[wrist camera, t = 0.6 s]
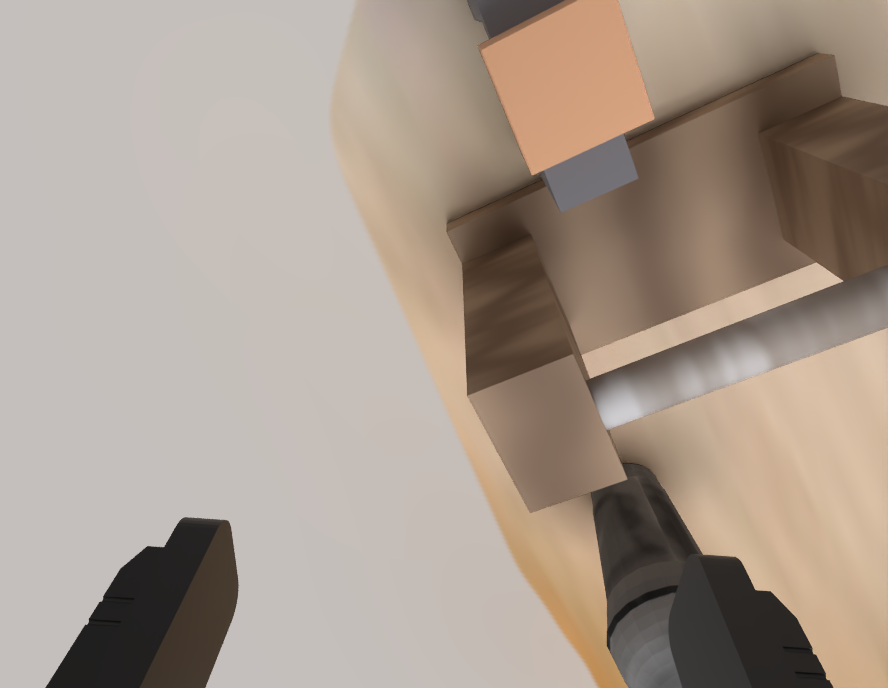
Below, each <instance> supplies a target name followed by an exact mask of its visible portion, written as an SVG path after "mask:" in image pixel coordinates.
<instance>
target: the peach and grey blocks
mask: <svg viewBox="0 0 888 688" xmlns="http://www.w3.org/2000/svg"><path fill="white" fill-rule="evenodd" d="M467 2H468V4H469V7H470V9H471V12H472V14H473V17H474V19H475V20H477V21H480V22H483V25H484V27H485V30H486V32H487V35H488V37H489V40H487V41H485V42H483V43H481V44H480V45H478V48H479V51H480V53H481V56H482V58H483V61H484V63H485V65H486V68H487V70H488V73H489V75H490V78H491V80H492V83H493V85H494V87H495V90H496V92H497V95H498V97H499V100H500V102H501V105H502V107H503V109H504V112H505V114H506V117H507V119H508V122H509V124H510V126H511V129H512V131H513V134H514V136H515V139H516V141H517V144H518V146H519V148H520V151H521V153H522V156H523V158H524V160H525V162H526V164H527V166H528V168H529V170H530V172H531V174H532V176H533V175H535V174H537V173H540V175H541V177H542V179H543V181H544V183H545V185H546V186H547V188H548V190H549V192H550V194H551V196H552V198H553V199H554V201H555V203H556V205H557V207H558V209H559V211H560V212H561V213H562V212H564V211H566V210H569V209H571V208H573V207H575V206H578V205H580V204H582V203H584V202H587V201H589V200H591V199H593V198H596V197H598V196H600V195H602V194H605V193H607V192H609V191H611V190H614V189H616V188H618V187H620V186H623V185H625V184H627V183H629V182H632V181H634V180H636V179H638V175H637V172H636V169H635V166H634V163H633V160H632V157H631V154H630V151H629V148H628V145H627V142H626V139H625V136H624V133H626V132H628V131H630V130H632V129H634V128H636V127H639V126H641V125H643V124H645V123H647V122H649V121H652V120H654V119H655V118H654V115H653V112H652V108H651V105H650V102H649V99H648V96H647V92H646V89H645V86H644V83H643V79H642V76H641V73H640V70H639V67H638V63H637V60H636V57H635V54H634V51H633V47H632V44H631V41H630V38H629V34H628V31H627V28H626V25H625V22H624V18H623V15H622V12H621V9H620V5H619V2H618V0H467Z"/></svg>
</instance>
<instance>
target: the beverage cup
mask: <svg viewBox="0 0 888 688" xmlns="http://www.w3.org/2000/svg"><path fill="white" fill-rule="evenodd" d="M622 466H623V468H624V471H625V474H626V476H627V480H625V481H622V482H619V483H616V484H613V485H610V486H607V487H604V488H601V489H599V490H596V491H593V492H592V500H593V515H594V521H595V528H596V534H597V540H598V547H599V553H600V559H601V566H602V572H603V578H604V585H605V591H606V598H607V647H608V649H609V651H610V653H611V655H612V657H613V659H614V661H615V663H616V665H617V667H618V669H619V671H620V673H621V675H622V677H623V679H624V681H625V683H626V684H627V686H628V687H629V688H682V685H681V682H680V679H679V675H678V672H677V669H676V665H675V662H674V659H673V656H672V652H671V648H670V643H669V632H668V623H669V615H670V611H671V608H672V604H673V601H674V598H675V595H676V592H677V588H678V585H679V582H680V579H681V575H682V572H683V569H684V566H685V563H686V560H687V558H688V556H689V555H691V554H700V555H703V554H702V552H701V551H700V549H699V547H698V546H697V544H696V542H695V540H694V539H693V537H692V535H691V534H690V532H689V530H688V529H687V527H686V525H685V524H684V522H683V520H682V519H681V517H680V515H679V513H678V512H677V510H676V508H675V507H674V505H673V503H672V502H671V500H670V498H669V497H668V495H667V493H666V491H665V490H664V489H663V488H662V487H661V485H660V484H659V482H658V481H657V479H656V477H655V475H654V474H653V473H652V472H651V471H650V470H649V469H647V468H645V467H643V466H641V465H636V464H631V463H630V464H622Z"/></svg>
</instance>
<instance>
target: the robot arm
mask: <svg viewBox="0 0 888 688" xmlns="http://www.w3.org/2000/svg"><path fill="white" fill-rule="evenodd" d="M237 597H238V575H237V569H236V561H235V553H234V546H233V539H232V532H231V526H230V523H229V522H228V521H227V520H216V519H202V518H187V517H185V518H183V519H181V520H180V521H179V523H178V524H177V526H176V528H175V529H174V531H173V533H172V534H171V536H170V538H169V540H168V541H167V543H166V545H165V547H151V546H147V547H146V548H145V549H143V550H142V551H141V552H140V553H139V554H138V555H136V556H135V557H134V558H133V559H132V560H130V561H129V562H128V563H127V564H126V565H125V566H123V567H122V568H121V569H120V570H119V572H118V574H117V575H116V577H115V578H114V580H113V582H112V583H111V585H110V587H109V588H108V590H107V591H106V593H105V594H104V596H103V601H102V602H99V604H98V605H97V607H96V609H95V610H94V612H93V613H92V615H91V617H90V618H89V623H88V625H85V626H84V628H83V629H82V631H81V633H80V634H79V636H78V637H77V639H76V640H75V642H74V644H73V645H72V647H71V648H70V650H69V651H68V653H67V655H66V656H65V658H64V660H63V661H62V663H61V664H60V666H59V667H58V669H57V671H56V672H55V674H54V675H53V677H52V678H51V680H50V682H49V683H48V685H47V686H46V688H205V687H206V684H207V682H208V679H209V677H210V674H211V672H212V669H213V667H214V664H215V662H216V659H217V657H218V654H219V651H220V649H221V647H222V644H223V641H224V639H225V636H226V634H227V631H228V629H229V626H230V623H231V621H232V618H233V616H234V612H235V608H236V604H237ZM668 632H669V643H670V648H671V652H672V656H673V659H674V662H675V665H676V669H677V672H678V675H679V679H680V682H681V685H682V688H833V686H832V684H831V682H830V681H829V680H827V679H826V673H825V671H824V669H823V667H822V665H821V663H820V662H819V660H818V658H817V656H816V655H815V654H813V652H812V649H813V648H812V646H811V644H810V643H809V641H808V639H807V637H806V635H805V633H804V631H803V629H802V627H801V625H800V624H799V622H798V620H797V618H796V617H795V616H794V615H793V614H792V613H791V612H790V611H789V610H788V609H787V608H786V607H785V606H784V605H783V604H782V603H781V602H780V601H779V600H778V599H777V597H776V596H775V595H774V594H773V593H772V592H771V591H757V590H755V589H754V586H753V584H752V582H751V580H750V578H749V576H748V574H747V572H746V570H745V568H744V566H743V564H742V562H741V561H740V560H739V559H738V558H736V557H729V556H714V555H700V554H691V555H689V556H688V558H687V560H686V563H685V566H684V569H683V572H682V575H681V579H680V582H679V585H678V588H677V592H676V595H675V598H674V601H673V604H672V608H671V611H670V615H669V623H668Z"/></svg>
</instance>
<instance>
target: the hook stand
mask: <svg viewBox="0 0 888 688" xmlns="http://www.w3.org/2000/svg"><path fill="white" fill-rule="evenodd" d="M626 142H627V145H628V148H629V151H630V154H631V157H632V160H633V163H634V166H635V169H636V172H637V175H638V179H636V180H634V181H632V182H629V183H627V184H625V185H623V186H620V187H618V188H616V189H614V190H611V191H609V192H607V193H605V194H602V195H600V196H598V197H596V198H593V199H591V200H589V201H587V202H584V203H582V204H580V205H578V206H575V207H573V208H571V209H569V210H566V211H564V212H562V213H561V212H560V211H559V209H558V207H557V205H556V203H555V201H554V199H553V198H552V196H551V194H550V192H549V190H548V188H547V186H546V185H545V183H544V181H543V180H541V181H539V182H537V183H534V184H532V185H530V186H528V187H526V188H524V189H521V190H519V191H517V192H515V193H513V194H510V195H508V196H506V197H504V198H502V199H500V200H497V201H495V202H493V203H491V204H489V205H486V206H484V207H482V208H480V209H478V210H476V211H473V212H471V213H469V214H467V215H465V216H463V217H460V218H458V219H456V220H454V221H452V222H449V223H447V234H448V236H449V238H450V240H451V242H452V244H453V246H454V248H455V250H456V252H457V254H458V256H459V258H460V260H461V262H462V269H463V295H464V322H465V349H466V375H467V396H468V398H469V400H470V402H471V404H472V406H473V407H474V409H475V411H476V413H477V415H478V417H479V419H480V420H481V422H482V424H483V426H484V428H485V430H486V432H487V434H488V435H489V437H490V439H491V441H492V443H493V445H494V447H495V448H496V450H497V452H498V454H499V456H500V458H501V460H502V462H503V463H504V465H505V467H506V469H507V471H508V473H509V475H510V476H511V478H512V480H513V482H514V484H515V486H516V488H517V489H518V491H519V493H520V495H521V497H522V499H523V501H524V503H525V504H526V506H527V508H528V510H529V512H530V513H532V512H535V511H538V510H541V509H544V508H546V507H549V506H552V505H555V504H558V503H561V502H564V501H567V500H570V499H572V498H575V497H578V496H581V495H584V494H587V493H590V492H593V491H596V490H599V489H601V488H604V487H607V486H610V485H613V484H616V483H619V482H622V481H625V480H627V476H626V474H625V471H624V468H623V466H622V463H621V460H620V458H619V455H618V452H617V450H616V447H615V444H614V442H613V439H612V436H611V434H610V431H609V429H611V428H614V427H617V426H619V425H622V424H625V423H628V422H630V421H633V420H636V419H639V418H641V417H644V416H647V415H650V414H652V413H655V412H658V411H661V410H663V409H666V408H669V407H672V406H674V405H677V404H680V403H683V402H685V401H688V400H691V399H694V398H696V397H699V396H702V395H704V394H707V393H710V392H713V391H715V390H718V389H721V388H724V387H726V386H729V385H732V384H735V383H737V382H740V381H743V380H746V379H748V378H751V377H754V376H757V375H759V374H762V373H765V372H768V371H770V370H773V369H776V368H778V367H781V366H784V365H787V364H789V363H792V362H795V361H798V360H800V359H803V358H806V357H809V356H811V355H814V354H817V353H820V352H822V351H825V350H828V349H831V348H833V347H836V346H839V345H842V344H844V343H847V342H850V341H852V340H855V339H858V338H861V337H863V336H866V335H869V334H872V333H874V332H877V331H880V330H883V329H885V328H888V106H883V105H879V104H874V103H870V102H865V101H860V100H856V99H851V98H846V97H842V95H841V90H840V84H839V79H838V73H837V68H836V62H835V57H834V55H828V54H819V53H818V54H816V55H813V56H811V57H809V58H807V59H805V60H803V61H800V62H798V63H796V64H794V65H792V66H789V67H787V68H785V69H783V70H781V71H779V72H776V73H774V74H772V75H770V76H768V77H765V78H763V79H761V80H759V81H757V82H755V83H752V84H750V85H748V86H746V87H744V88H742V89H739V90H737V91H735V92H733V93H731V94H728V95H726V96H724V97H722V98H720V99H718V100H715V101H713V102H711V103H709V104H707V105H704V106H702V107H700V108H698V109H696V110H694V111H691V112H689V113H687V114H685V115H683V116H680V117H678V118H676V119H674V120H672V121H670V122H667V123H665V124H663V125H661V126H659V127H656V128H654V129H652V130H650V131H648V132H646V133H643V134H641V135H639V136H637V137H635V138H633V139H630V140H628V141H626ZM816 262H817V263H818V264H820V265H821V266H823V267H824V268H826V269H827V270H829V271H830V272H831V273H833V274H834V275H836V276H837V277H839V278H840V279H842V280H843V282H841V283H838V284H836V285H833V286H830V287H828V288H825V289H823V290H820V291H817V292H815V293H812V294H810V295H807V296H804V297H802V298H799V299H797V300H794V301H791V302H789V303H786V304H784V305H781V306H778V307H776V308H773V309H771V310H768V311H765V312H763V313H760V314H758V315H755V316H752V317H750V318H747V319H745V320H742V321H739V322H737V323H734V324H732V325H729V326H726V327H724V328H721V329H718V330H716V331H713V332H711V333H708V334H705V335H703V336H700V337H698V338H695V339H692V340H690V341H687V342H685V343H682V344H679V345H677V346H674V347H672V348H669V349H666V350H664V351H661V352H659V353H656V354H653V355H651V356H648V357H646V358H643V359H640V360H638V361H635V362H633V363H630V364H627V365H625V366H622V367H620V368H617V369H614V370H612V371H609V372H607V373H604V374H601V375H599V376H596V377H594V378H591V379H590V378H589V375H588V372H587V370H586V367H585V364H584V362H583V359H582V356H581V355H582V354H584V353H587V352H590V351H592V350H595V349H597V348H600V347H602V346H605V345H607V344H610V343H612V342H615V341H617V340H620V339H623V338H625V337H628V336H630V335H633V334H635V333H638V332H640V331H643V330H645V329H648V328H651V327H653V326H656V325H658V324H661V323H663V322H666V321H668V320H671V319H673V318H676V317H678V316H681V315H684V314H686V313H689V312H691V311H694V310H696V309H699V308H701V307H704V306H706V305H709V304H712V303H714V302H717V301H719V300H722V299H724V298H727V297H729V296H732V295H734V294H737V293H739V292H742V291H745V290H747V289H750V288H752V287H755V286H757V285H760V284H762V283H765V282H767V281H770V280H773V279H775V278H778V277H780V276H783V275H785V274H788V273H790V272H793V271H795V270H798V269H800V268H803V267H806V266H808V265H811V264H813V263H816Z"/></svg>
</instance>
